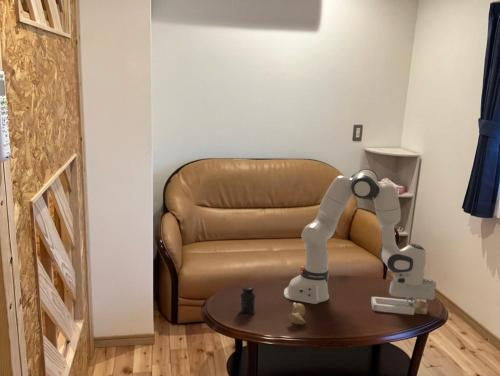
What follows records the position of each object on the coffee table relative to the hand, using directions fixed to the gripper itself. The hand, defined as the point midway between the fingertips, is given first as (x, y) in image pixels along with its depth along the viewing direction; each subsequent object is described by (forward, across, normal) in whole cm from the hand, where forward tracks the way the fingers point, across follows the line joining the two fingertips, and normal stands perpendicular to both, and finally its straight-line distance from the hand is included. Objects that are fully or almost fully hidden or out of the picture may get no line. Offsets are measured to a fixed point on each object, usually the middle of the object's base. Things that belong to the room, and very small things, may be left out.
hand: (410, 305), depth 217 cm
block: (+2, -5, 0) cm, 5 cm away
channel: (+2, +8, 0) cm, 8 cm away
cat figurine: (+2, +52, +23) cm, 57 cm away
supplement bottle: (+2, +75, +20) cm, 78 cm away
